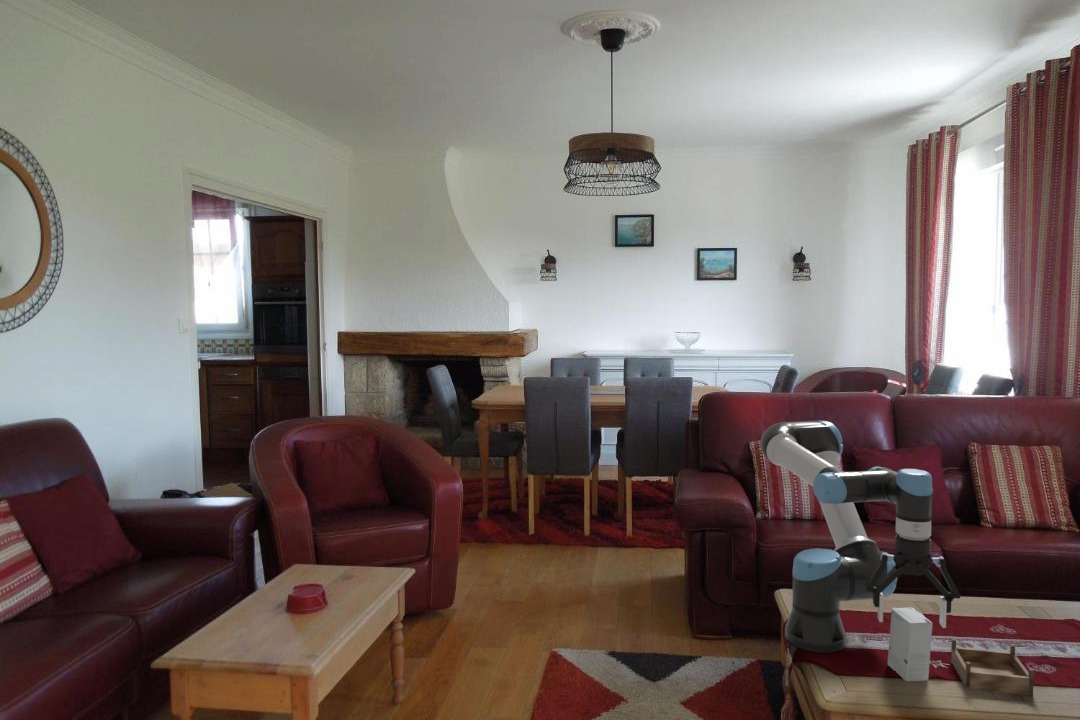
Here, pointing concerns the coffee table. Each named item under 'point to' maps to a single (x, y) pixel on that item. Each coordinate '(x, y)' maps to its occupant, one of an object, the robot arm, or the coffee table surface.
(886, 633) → the coffee table surface
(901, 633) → the skincare box
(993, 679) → the box
